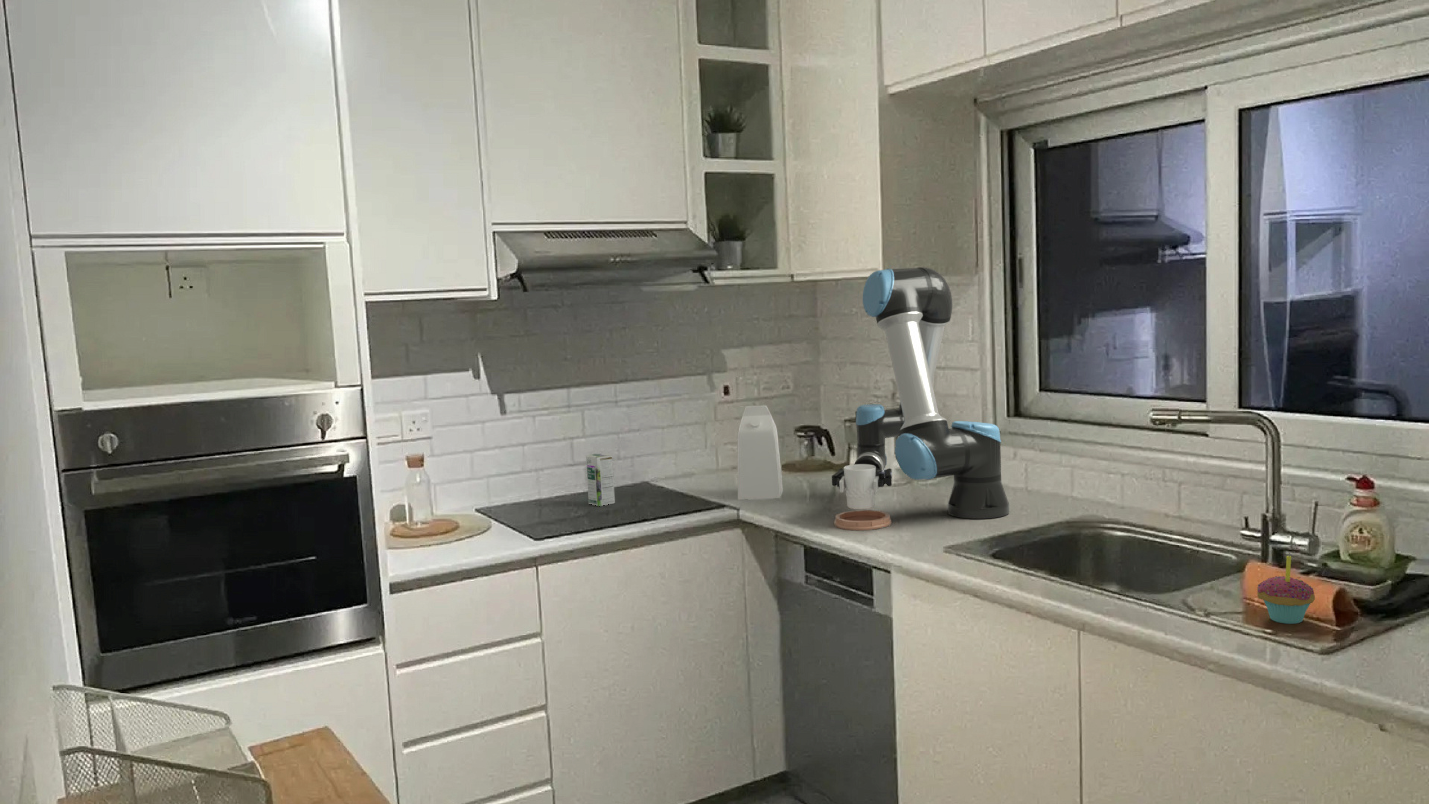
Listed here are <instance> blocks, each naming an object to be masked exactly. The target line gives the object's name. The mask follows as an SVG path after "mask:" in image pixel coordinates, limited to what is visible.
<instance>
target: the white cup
mask: <svg viewBox="0 0 1429 804" xmlns="http://www.w3.org/2000/svg"><path fill="white" fill-rule="evenodd" d="M843 469H844V478H845V490H844V491H845V496H846V505H847V508H849V509H851V510H871V509H873V508H875V499H876V498H875V497H876V492H874V488H873V481H874V479H875V478H876V466H874V465H868V464H855V465H854V464H849V465H848V464H847V465H845V466H844V467H843Z"/></svg>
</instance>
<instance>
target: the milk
mask: <svg viewBox="0 0 1429 804" xmlns="http://www.w3.org/2000/svg"><path fill="white" fill-rule="evenodd" d="M779 444H780V443H779V435H778V427H777V425H776V423H775V420H774V418H773V415H772V414H771V411H770V410H769V408H768V406H767V404H765V405H746V406H745V408H744V410H743V413H742V417H741V420H740V423H739V428H738V432H737V500H738V499H748V500H774V499H773V498H780V499H781V497H782V494H783V491H784V489H783V487H784V486H783V478H782V476H783V475H782V468H781V458H780V446H779Z"/></svg>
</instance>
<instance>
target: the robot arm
mask: <svg viewBox="0 0 1429 804" xmlns="http://www.w3.org/2000/svg"><path fill="white" fill-rule="evenodd" d="M952 297H953V295H952V291H951V289H950V286H949V283H948V282H947V280H946V279H945V277H943V276H942V274H941V273H939V272H938V271H937V270H935V269H933V268H929V267H924V266H923V267H922V266H921V267H920V266H919V267H910V268H909V267H908V268H906V267H905V268H886V269H881V270H875V271H873V272H872V273H870V274H869V276H868V277H867V279H866V281H865V283H864V287H863V291H862V304H863V305H862V306H863V310H864V312H865V313H866V315H868V316H869V317H872V318H875V320H876V325H877V327H878V328H880V329H882V331H884V333H885V337H886V343H887V347H888V350H889V351H888V352H889V357H890V362H891V366H892V369H893V374H894V378H895V384H896V388H897V392H898V397H899V406H898V408H896V409H888V410H887V409H886V410H885V408H884V405H882V404H878V403H877V404H876V403H875V404H874V403H872V404H868V403H867V404H862V405H861V404H860V405H859V406H858V407H857V409H856V413H855V424H856V425H855V426H856V440H857V442H856V443H857V445H856V451H857V452H856V453H857V454H856V455H857V458H856V460H855V462H854V463H853V465H855V464H868V465H874V466H876V478H875V479H874V481H873V488H874V492H875V493H878V490H879V488H883V487H885V485H886V486H888V487H891V486H892V484H893V482H892V479H893V475H892V471H893V469H892V468H887V469H886V466H887V462H888V461H887V460H888V459H887V454H886V439H888V438H889V439H890V438H896V440H895V445H894V446H895V447H894V454H895V458H896V461H897V464H898V466H899V467H900V469H901V471H902V472H903V473H904V474H905V475H906V476H907V477H908V478H909V479H912V480H916V481H919V480H933V479H937V478H946V477H950V476H951V477H952V476H953V485H952V488H951V492H950V496H949V498H948V503H947V514H948V515H950V516H953V517H957V518H962V519H973V520H974V519H977V520H979V519H980V520H981V519H984V520H985V519H995V518H1001V517H1005V516H1008V514H1010V503H1009V502H1010V501H1009V499H1008V497H1007V494H1006V491H1005V489H1004V488H1005V487H1004V486H1003V482H1002V460H1001V458H1002V457H1001V456H1002V455H1001V452H1002V451H1001V443H1002V440H1001V433H1000V427H998V426H997V425H996V424H994V423H988V422H979V421H966V420H955V421H953V422H952V424H951V426H950V427H951V428H949V425H948V424H949V423H948V420H947V418H945V417H944V416H941V415H940V414H939V412H940V411H939V409H938V404H937V400H936V395H935V391H934V387H933V386H934V385H933V384H934V383H933V382H934V379H935V374H936V370H937V364H938V359H939V355H940V351H941V346H942V340H943V336H944V331H945V326H946V325H947V324H949V323H950V322H951V318H952V314H953V313H952V311H953V298H952ZM831 486H833V487H837V488H838V489H839V493H844V491H846V490H845V478H844V468H842V467H841V468H838V471H836V472H835V473H834V474H832V475H831Z"/></svg>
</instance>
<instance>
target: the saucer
mask: <svg viewBox="0 0 1429 804" xmlns="http://www.w3.org/2000/svg"><path fill="white" fill-rule="evenodd" d="M833 522H834V523H833V524H834V527H836V528H838V529H841V530H847V531H872V530H871V529H874V530H878V529H877V528H881V529H883V528H882V527H885V528H888V527H889V525H890V524H891V525H892V518H891V516H890V513H889V512H887V511H882V510H872V509H854V510H850V511H843V512H842V511H841V512H840V513H838V514H835V519H834V521H833ZM891 525H890V526H891ZM887 526H888V527H887Z"/></svg>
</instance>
